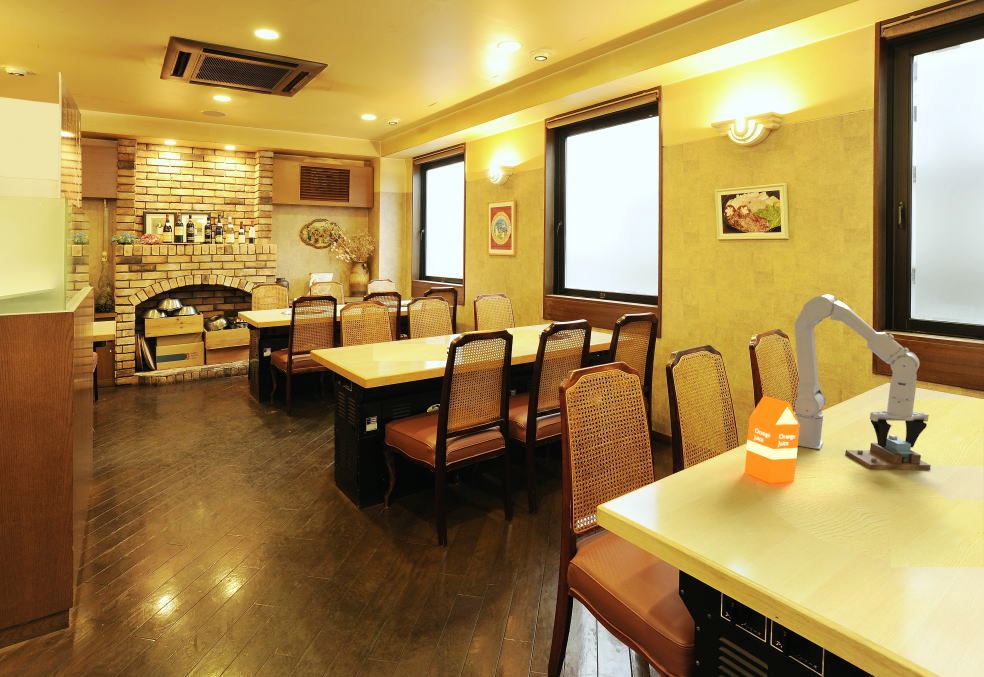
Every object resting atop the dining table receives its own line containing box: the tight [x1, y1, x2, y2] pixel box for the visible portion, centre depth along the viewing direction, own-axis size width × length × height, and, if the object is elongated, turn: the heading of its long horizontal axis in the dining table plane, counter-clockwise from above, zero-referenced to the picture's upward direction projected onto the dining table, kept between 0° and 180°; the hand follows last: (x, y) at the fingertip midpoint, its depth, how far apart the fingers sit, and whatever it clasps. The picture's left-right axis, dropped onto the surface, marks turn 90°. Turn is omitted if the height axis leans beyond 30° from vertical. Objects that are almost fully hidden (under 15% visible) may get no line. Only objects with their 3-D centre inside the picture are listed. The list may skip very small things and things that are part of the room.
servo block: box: [884, 434, 915, 462], centre depth 163 cm, size 9×4×6 cm, turn 0°
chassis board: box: [845, 442, 932, 470], centre depth 163 cm, size 16×11×4 cm
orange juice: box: [744, 395, 800, 484], centre depth 151 cm, size 8×9×20 cm
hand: (895, 446), depth 163 cm, fingers open, 7 cm apart
